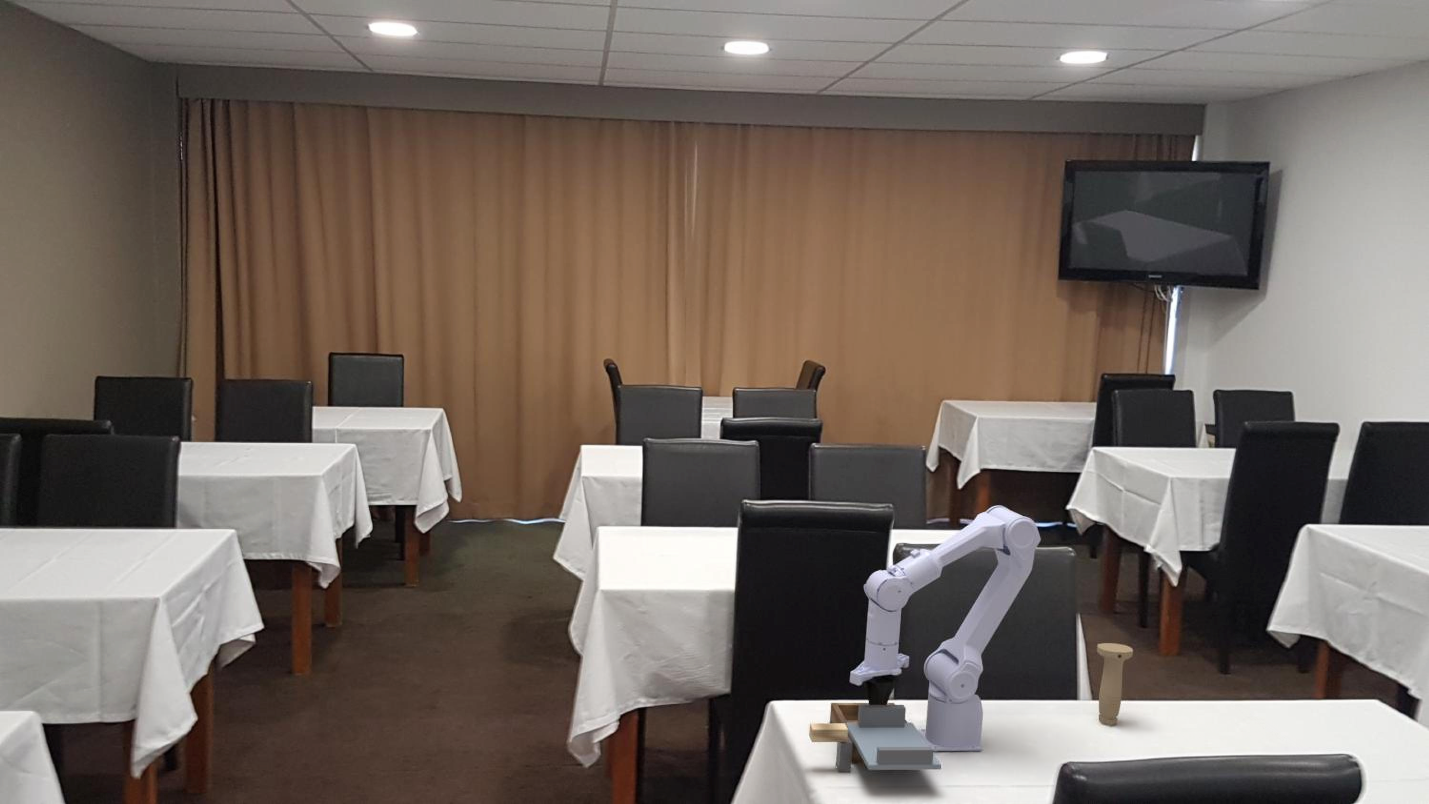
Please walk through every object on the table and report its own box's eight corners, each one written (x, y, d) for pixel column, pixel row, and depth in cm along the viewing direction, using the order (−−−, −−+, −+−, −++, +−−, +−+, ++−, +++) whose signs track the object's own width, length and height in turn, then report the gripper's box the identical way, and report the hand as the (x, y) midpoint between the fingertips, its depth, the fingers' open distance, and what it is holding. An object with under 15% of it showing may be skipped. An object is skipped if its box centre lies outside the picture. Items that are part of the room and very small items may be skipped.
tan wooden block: (843, 735, 183) (844, 723, 183) (847, 741, 181) (848, 729, 181) (809, 735, 182) (809, 723, 182) (812, 742, 180) (812, 729, 180)
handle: (1129, 728, 205) (1137, 652, 203) (1095, 727, 205) (1103, 651, 203) (1119, 718, 210) (1126, 643, 208) (1086, 716, 210) (1093, 642, 208)
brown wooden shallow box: (892, 723, 202) (894, 702, 202) (918, 762, 186) (919, 740, 186) (829, 723, 201) (831, 702, 200) (850, 763, 185) (851, 740, 185)
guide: (847, 765, 184) (849, 736, 183) (850, 772, 182) (852, 743, 181) (835, 765, 184) (837, 736, 183) (838, 772, 181) (840, 743, 181)
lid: (911, 726, 191) (913, 703, 190) (940, 769, 175) (943, 743, 174) (845, 726, 189) (846, 703, 189) (868, 769, 174) (870, 744, 173)
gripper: (875, 655, 181) (869, 732, 183) (925, 637, 192) (919, 710, 193) (842, 643, 186) (837, 718, 188) (893, 626, 197) (887, 697, 198)
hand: (876, 713), depth 191 cm, fingers closed
